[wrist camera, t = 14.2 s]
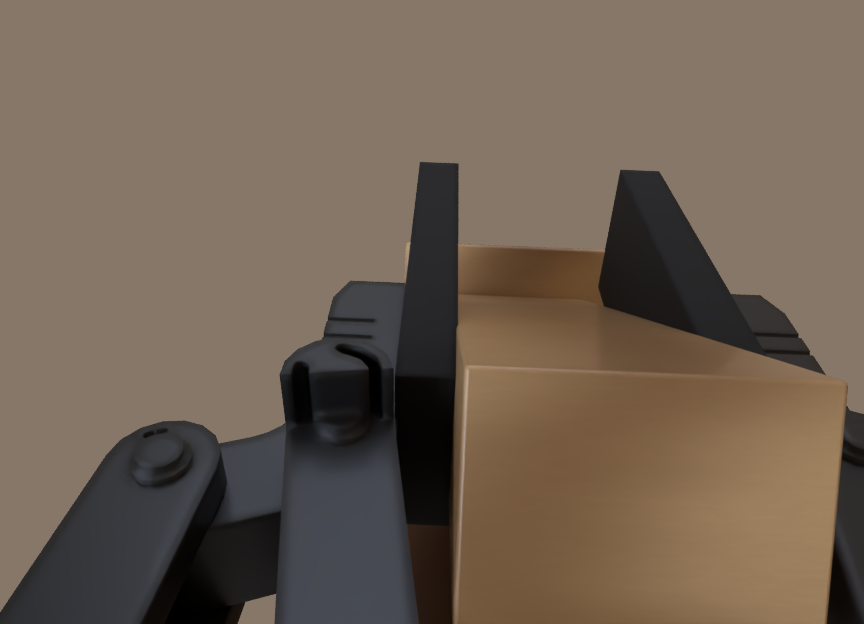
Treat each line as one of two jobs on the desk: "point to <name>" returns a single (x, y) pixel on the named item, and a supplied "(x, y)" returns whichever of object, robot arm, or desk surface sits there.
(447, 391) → the robot arm
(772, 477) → the tan block
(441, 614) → the shelf
